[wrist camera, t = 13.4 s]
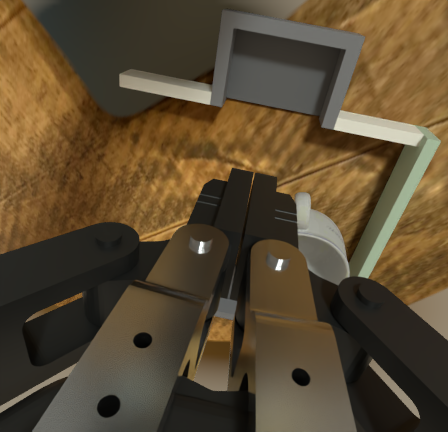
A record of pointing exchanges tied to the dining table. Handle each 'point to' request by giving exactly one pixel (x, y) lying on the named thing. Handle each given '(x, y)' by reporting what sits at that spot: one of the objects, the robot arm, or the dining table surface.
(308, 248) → the teacup
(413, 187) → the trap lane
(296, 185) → the dining table surface
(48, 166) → the dining table surface
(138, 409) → the robot arm
